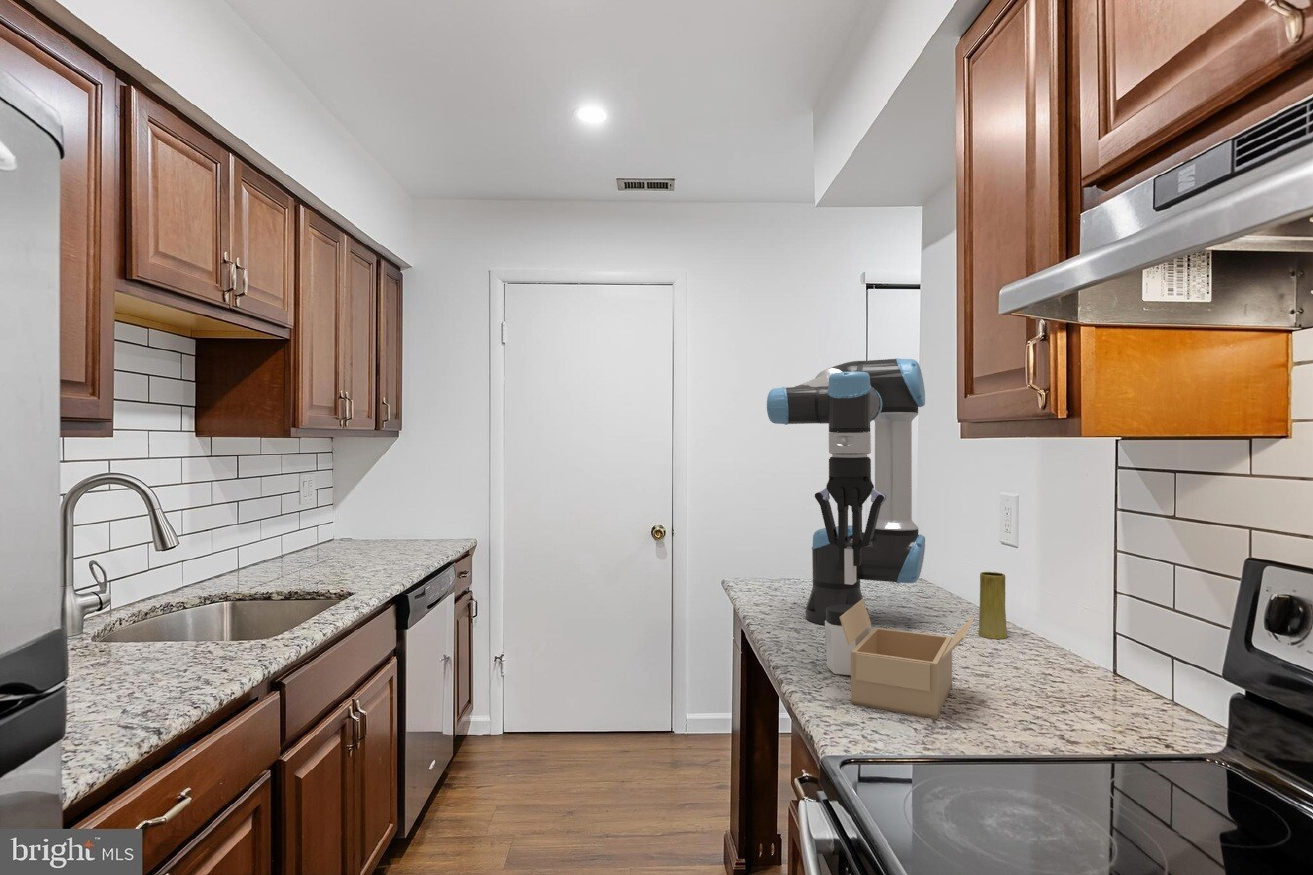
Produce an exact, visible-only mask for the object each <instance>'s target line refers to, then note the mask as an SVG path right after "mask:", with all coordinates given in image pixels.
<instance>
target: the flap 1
mask: <svg viewBox="0 0 1313 875" xmlns="http://www.w3.org/2000/svg"><path fill="white" fill-rule="evenodd" d="M864 600H865V599H864V598H863V599H861V600H860V601H859V602H858V603H856V604H855V605H854V606H853V607H851V608H850V609H849V610H848V611H846V612H845V613H844V614H843V615H842V616H840V621H841V624H842V627H843V630H844V633H845V636H846V639H847V643H848V645H850V644H851V643H852V642H853V641H854V640H855V639H856V638H857V637H858V636H859V635H860V634H861V633H862V632H863V631H864V630H865V629H866V628H867V627H868V626H869V625H870V624H871V625H872V621H871V619H870V614H869V615H868V613H869V611H868V612H867V609H868V608H867V607H866V603H865V601H864ZM866 608H867V609H866Z"/></svg>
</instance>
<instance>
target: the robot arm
mask: <svg viewBox="0 0 1313 875" xmlns="http://www.w3.org/2000/svg"><path fill="white" fill-rule="evenodd" d="M766 398H767V399H766V412H767V416H768V419H769V421H770V422H771V423H773V424H779V425H797V424H798V425H800V424H804V425H805V424H828V453H829V454H830V455H831V456H830V457H829V458H828V481H827V483H826V485H825V486H826V487H825V488H824V489H822V490H820V491H819V492H815V493H814V498H815V500H816V501H817V503H818V505H819V506H820V511H821V516H822V520H823V523H824V528H819V529H817V530H816V531H814V533H813V535H812V547H811V552H812V560H811V561H812V588H811V591H810V595H809V597H808V601H807V602H806V603H807V604H806V607H805V619H806V620H807V621H809V622H811V623H814V624H819V625H824V626H825V620H826V608H827V607H829V606H833V605H855V604H856V603H858V602H859V601H860V600H861V599H863V600H864V597H863V594H862V591H861V580H863V581H876V582H889V583H896V584H914V583H916V582H917V581H919V578H920V576H921V572H922V569H923V563H924V558H925V551H926V537H925V536H924V535H922V534H919V526H918V525H917V524H916V523H915V522H914V521H913V519H912V518H913V517H912V514H913V513H912V512H913V509H912V508H913V505H912V504H913V503H912V502H913V500H912V498H913V496H912V491H913V490H912V488H913V486H912V485H913V484H912V483H913V482H912V481H913V480H912V479H913V478H912V476H913V475H912V473H913V469H912V468H913V467H912V465H913V464H912V463H913V459H912V458H913V454H912V452H913V451H912V446H913V444H912V438H913V436H912V435H913V432H912V431H913V430H912V428H913V426H912V423H913V420H915V418H916V417H917V416H919V408H922V407H924V406H925V405H926V390H925V384H924V379H923V373H922V370H921V366H920V364H919V362H918V361H917V360H916V359H912V358H889V359H874V360H873V359H869V360H853V361H846V362H843V363H840V364H838V365H837V364H836V365H834V366H831V367H828V368H826V369H824V370H822V371H820V372H819V373H818V374H817V375H816V376H815V377H814V378H812V379H810V380H809V381H806V382H803V383H801V384H799V385H795V386H790V387H789V386H788V387H786V386H782V387H777V388H775V387H774V388H772V389H771V390H769V392H768V393H767V397H766ZM872 421H873V422H874V484H873V482H872V481H873V480H872V459H871V458H870V456H868V455H869V454H871V453H872V444H871V441H872V440H871V438H872V437H871V436H872V435H871V422H872ZM870 496H871V497H870ZM869 497H870V501H871V503H872V504H871V506H870V510H869V514H868V518H867V521H866V525H865V529H864V530H865V531H863V505H864V503H865V502H866V501H867V500H868V498H869ZM830 498H832V499H833V500H834V501H835V503H836V505H837V508H836V509H837V520H838V521H837V526H836V523H835V518H834V514H833V510H832V506H831V503H830ZM849 508H851V525H850V524H849Z"/></svg>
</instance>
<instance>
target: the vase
mask: <svg viewBox="0 0 1313 875" xmlns="http://www.w3.org/2000/svg"><path fill="white" fill-rule="evenodd" d="M979 574H980V575H979V580H980V581H979V615H978V616H979V618H978V619H979V621H978V622H979V623H978V625H979V626H978V635H979V636H980V637H982V638H986V639H993V640H1004V639H1007V638H1008V632H1007V631H1008V629H1007V627H1008V626H1007V617H1006V615H1007V614H1006V574H1005V573H1002V572H996V571H983V572H980V573H979Z"/></svg>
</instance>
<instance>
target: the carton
mask: <svg viewBox="0 0 1313 875" xmlns="http://www.w3.org/2000/svg"><path fill="white" fill-rule="evenodd" d="M952 638H953V636H946V635H941V634H940V635H938V634H931V633H923V632H914V631H906V630H898V629H890V628H882V627H873V628H872V629H871V632H870V633H869V634H868V635H867V636H866V637H865V638H864V639H863V640H862V641H861V642H860V643H859V644H858V645H857V646H856V647H855V648H854V649H853V650H852V651H851V675H850V704H851V705H856V706H861V707H867V708H872V709H878V710H883V711H889V712H894V713H900V714H905V715H912V716H917V717H921V718H923V717H924V718H930V719H934V720H935V719H936V720H938V718H939V715H940V713H941V711H942V709H943V707H944V705H945V702H946V700H947V698H948V695H949V693H950V691H951V689H952V687H953V650H952V651H951V652H950V653H949V654H948V655H947V656H946V657H945V658H944V659H943V658H942V656H943V654H944V653H945V651H946V649H947V647H948V645H949V644H950V642H951V640H952Z"/></svg>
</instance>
